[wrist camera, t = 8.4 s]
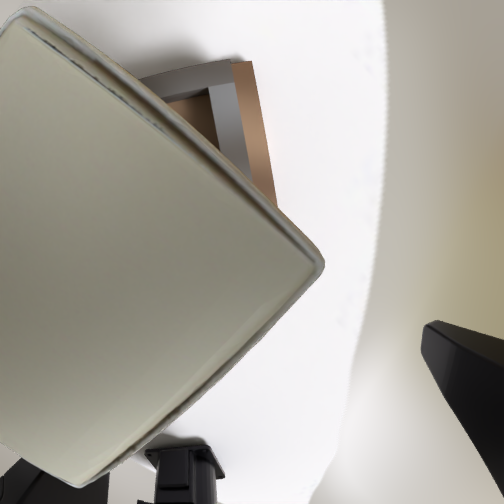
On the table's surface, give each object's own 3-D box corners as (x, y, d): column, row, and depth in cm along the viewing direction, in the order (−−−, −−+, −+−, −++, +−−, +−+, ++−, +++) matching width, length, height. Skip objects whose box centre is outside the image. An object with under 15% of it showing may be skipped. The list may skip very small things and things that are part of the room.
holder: (284, 263, 19) (295, 285, 16) (102, 299, 19) (87, 323, 16) (249, 64, 15) (256, 49, 12) (52, 118, 15) (26, 117, 12)
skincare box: (157, 265, 15) (78, 499, 4) (91, 211, 14) (-94, 367, 2) (243, 165, 14) (358, 274, 3) (172, 105, 13) (9, -10, 1)
